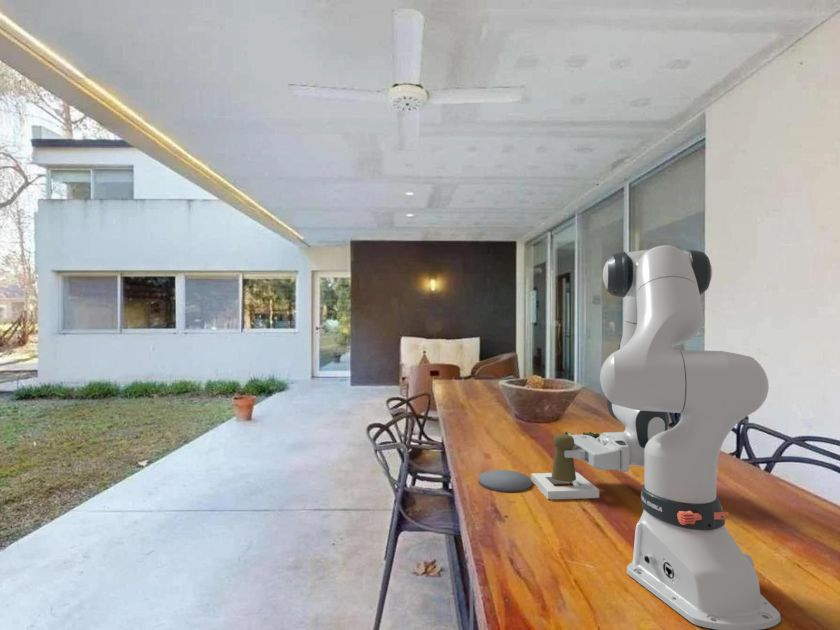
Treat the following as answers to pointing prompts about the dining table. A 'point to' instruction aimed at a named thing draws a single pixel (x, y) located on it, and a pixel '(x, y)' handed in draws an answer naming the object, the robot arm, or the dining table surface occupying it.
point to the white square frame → (564, 487)
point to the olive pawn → (563, 459)
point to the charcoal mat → (504, 481)
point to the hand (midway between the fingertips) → (560, 450)
